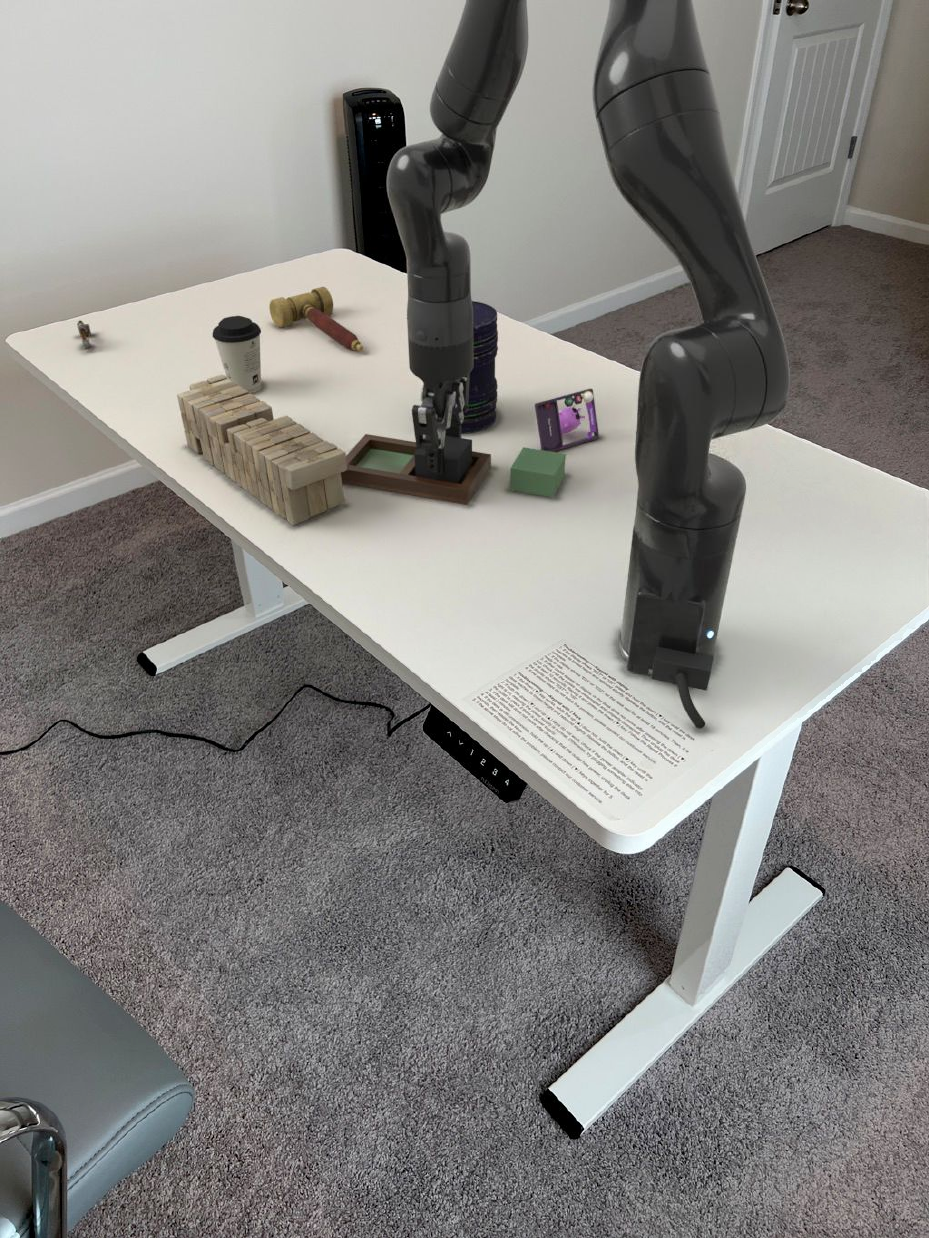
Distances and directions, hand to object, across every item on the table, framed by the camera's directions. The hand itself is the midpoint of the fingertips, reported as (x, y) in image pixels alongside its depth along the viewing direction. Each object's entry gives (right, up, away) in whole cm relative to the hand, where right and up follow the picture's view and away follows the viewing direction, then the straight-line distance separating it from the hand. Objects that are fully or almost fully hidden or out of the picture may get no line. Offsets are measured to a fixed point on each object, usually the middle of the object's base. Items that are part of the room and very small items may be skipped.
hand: (444, 460), depth 120 cm
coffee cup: (-30, +15, +24) cm, 41 cm away
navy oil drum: (+2, +8, +15) cm, 18 cm away
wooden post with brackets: (-59, +25, +38) cm, 75 cm away
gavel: (-20, +27, +39) cm, 52 cm away
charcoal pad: (0, -1, +1) cm, 1 cm away
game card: (+16, +4, +10) cm, 19 cm away
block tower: (-24, -1, +4) cm, 24 cm away
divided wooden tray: (-4, -1, +3) cm, 5 cm away
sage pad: (+12, -3, +1) cm, 12 cm away
